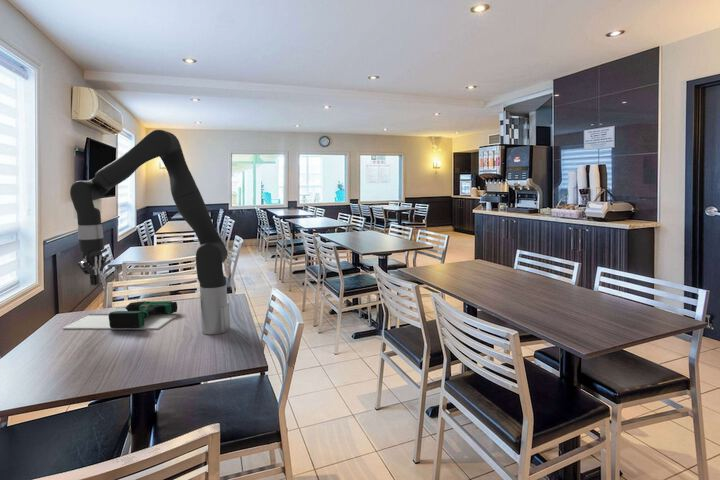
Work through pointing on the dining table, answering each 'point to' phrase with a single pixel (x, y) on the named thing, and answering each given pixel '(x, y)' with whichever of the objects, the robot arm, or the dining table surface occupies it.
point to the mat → (103, 323)
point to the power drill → (139, 313)
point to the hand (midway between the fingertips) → (95, 284)
